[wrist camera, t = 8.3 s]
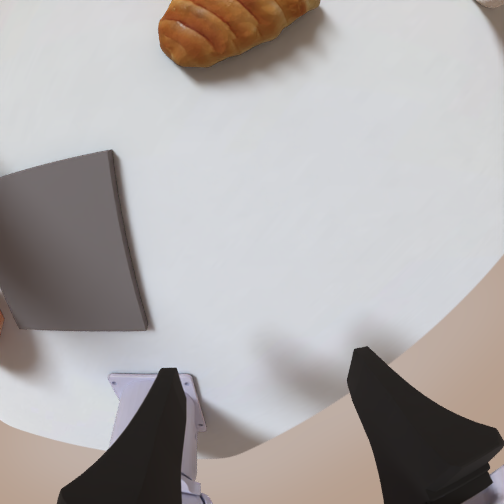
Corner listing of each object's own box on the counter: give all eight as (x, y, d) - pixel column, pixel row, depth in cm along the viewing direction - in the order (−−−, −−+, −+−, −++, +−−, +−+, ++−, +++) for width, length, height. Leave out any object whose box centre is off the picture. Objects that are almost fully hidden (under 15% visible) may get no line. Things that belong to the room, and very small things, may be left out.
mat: (147, 324, 22) (145, 330, 21) (22, 323, 21) (19, 328, 20) (111, 149, 16) (107, 151, 16) (-23, 185, 16) (-30, 187, 15)
